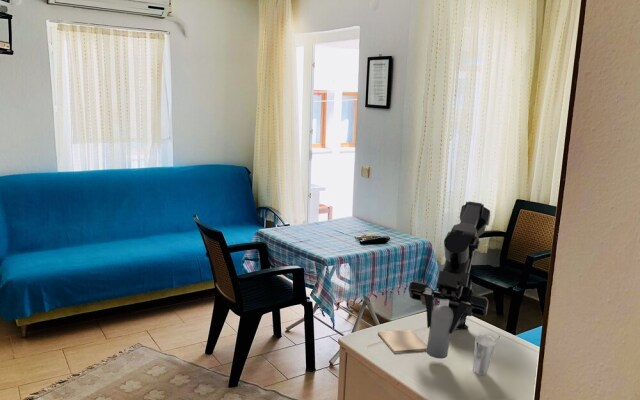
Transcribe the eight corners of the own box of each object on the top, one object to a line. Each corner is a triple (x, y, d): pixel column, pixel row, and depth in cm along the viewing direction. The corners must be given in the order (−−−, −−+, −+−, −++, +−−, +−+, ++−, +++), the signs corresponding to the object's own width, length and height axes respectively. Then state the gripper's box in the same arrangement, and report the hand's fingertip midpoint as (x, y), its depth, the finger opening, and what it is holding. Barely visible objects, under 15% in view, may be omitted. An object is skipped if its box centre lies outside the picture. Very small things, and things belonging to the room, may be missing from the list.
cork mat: (411, 331, 137) (411, 329, 137) (429, 350, 128) (429, 348, 128) (377, 334, 134) (377, 332, 134) (394, 353, 125) (394, 350, 124)
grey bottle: (440, 347, 125) (448, 295, 122) (451, 357, 120) (459, 303, 117) (422, 348, 123) (430, 296, 120) (432, 359, 119) (440, 304, 116)
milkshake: (494, 379, 117) (501, 339, 115) (470, 375, 118) (477, 335, 116) (492, 369, 121) (498, 331, 119) (469, 365, 122) (475, 327, 120)
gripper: (415, 249, 124) (397, 306, 116) (494, 265, 117) (480, 327, 109) (418, 270, 133) (402, 324, 125) (492, 287, 125) (479, 345, 118)
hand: (439, 330), depth 119 cm, fingers closed on grey bottle, 5 cm apart
